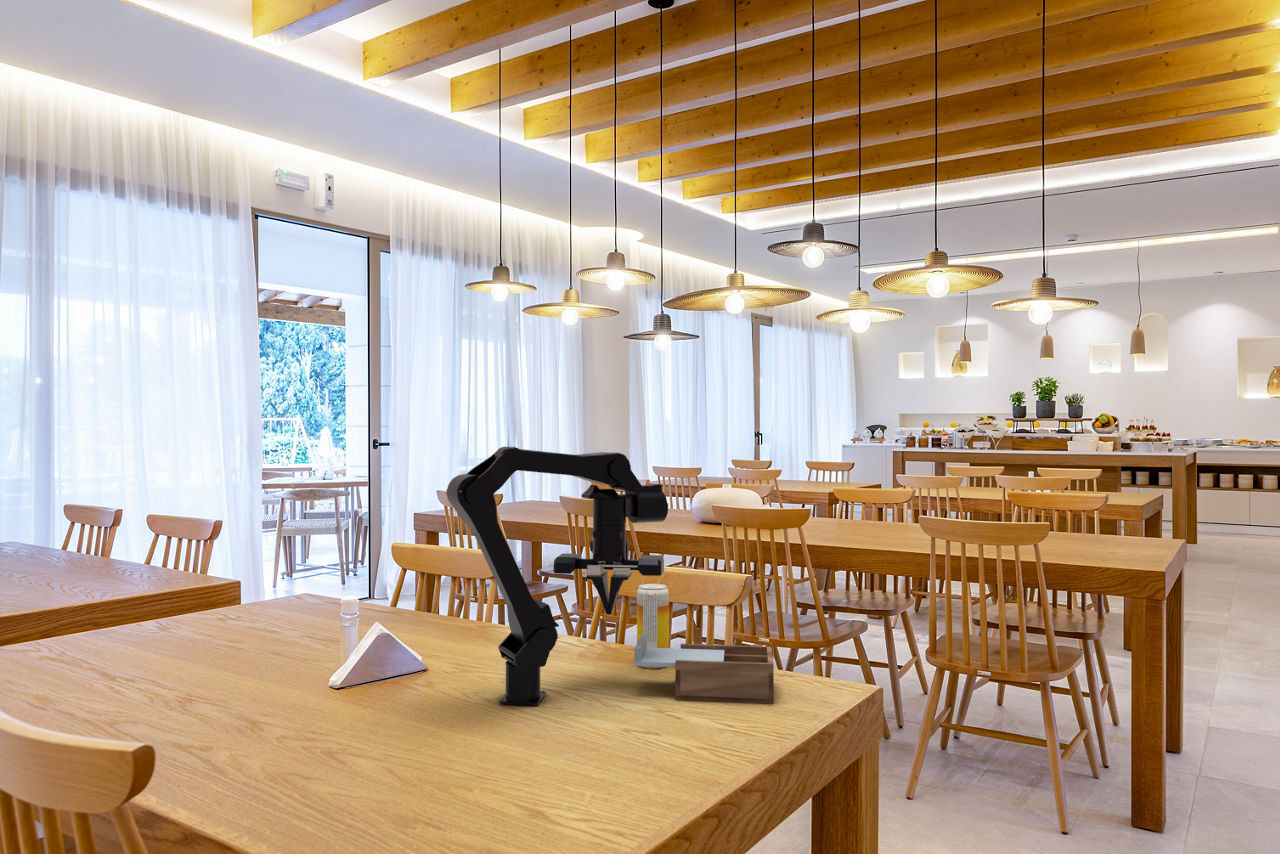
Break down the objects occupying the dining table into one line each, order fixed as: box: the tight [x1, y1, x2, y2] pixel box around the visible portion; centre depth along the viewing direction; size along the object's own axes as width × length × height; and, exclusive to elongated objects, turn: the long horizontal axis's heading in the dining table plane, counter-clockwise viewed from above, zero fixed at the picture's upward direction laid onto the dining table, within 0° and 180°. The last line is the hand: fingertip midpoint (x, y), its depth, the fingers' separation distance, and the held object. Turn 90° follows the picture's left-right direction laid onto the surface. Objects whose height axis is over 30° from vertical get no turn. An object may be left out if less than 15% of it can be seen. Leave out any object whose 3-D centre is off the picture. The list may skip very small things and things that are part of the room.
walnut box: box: [674, 643, 775, 705], centre depth 144 cm, size 12×16×6 cm
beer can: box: [636, 583, 670, 670], centre depth 161 cm, size 6×6×15 cm
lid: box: [633, 635, 724, 668], centre depth 145 cm, size 10×15×3 cm, turn 83°
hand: (609, 614), depth 147 cm, fingers closed
